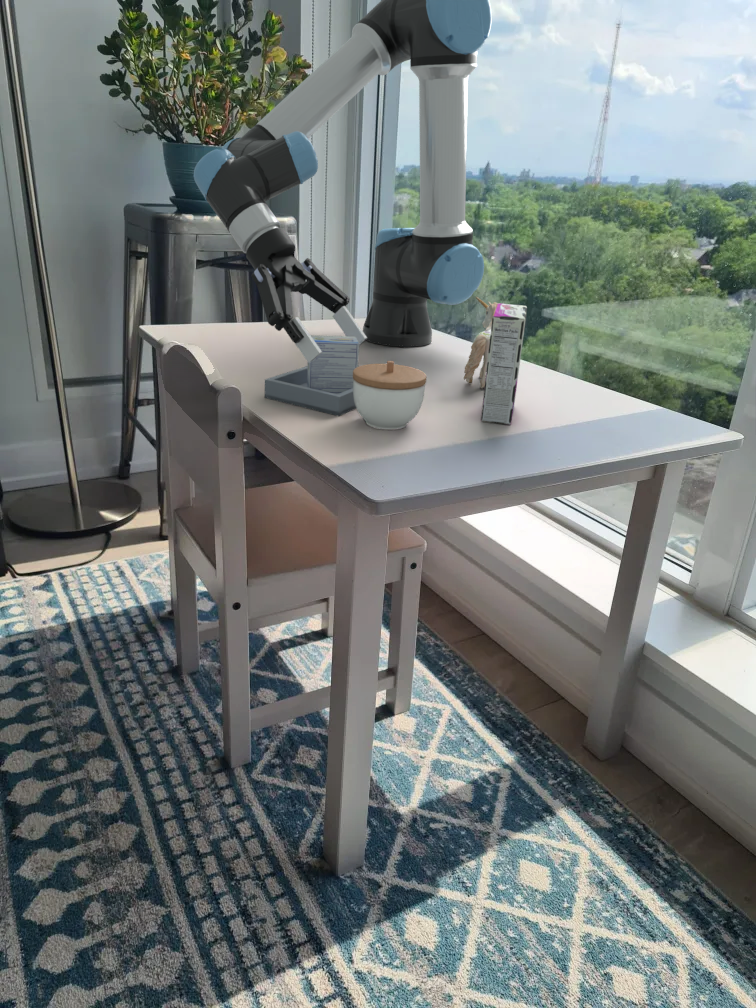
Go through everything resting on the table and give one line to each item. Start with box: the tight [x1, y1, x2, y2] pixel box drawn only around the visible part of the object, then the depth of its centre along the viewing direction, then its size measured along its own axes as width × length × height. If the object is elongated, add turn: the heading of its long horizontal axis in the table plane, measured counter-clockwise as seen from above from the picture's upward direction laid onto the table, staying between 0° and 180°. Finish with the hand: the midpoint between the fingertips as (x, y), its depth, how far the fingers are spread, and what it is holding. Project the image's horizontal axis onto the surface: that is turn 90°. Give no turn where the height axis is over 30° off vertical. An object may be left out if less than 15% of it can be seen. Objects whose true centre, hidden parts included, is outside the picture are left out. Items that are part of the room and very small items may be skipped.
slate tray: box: [264, 365, 360, 417], centre depth 126 cm, size 18×14×3 cm
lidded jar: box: [353, 360, 427, 431], centre depth 112 cm, size 11×11×9 cm
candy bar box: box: [480, 302, 528, 425], centre depth 119 cm, size 11×5×16 cm, turn 168°
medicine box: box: [307, 334, 360, 394], centre depth 124 cm, size 8×4×9 cm, turn 98°
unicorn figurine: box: [463, 296, 500, 390], centre depth 138 cm, size 7×20×13 cm, turn 171°
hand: (339, 350), depth 122 cm, fingers open, 13 cm apart
